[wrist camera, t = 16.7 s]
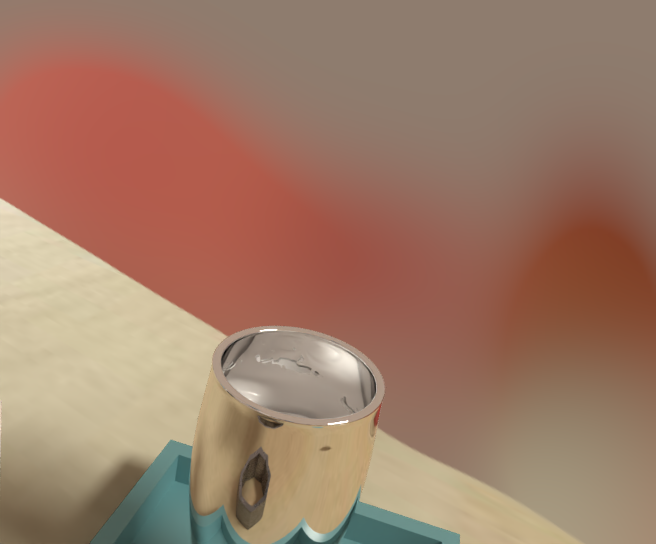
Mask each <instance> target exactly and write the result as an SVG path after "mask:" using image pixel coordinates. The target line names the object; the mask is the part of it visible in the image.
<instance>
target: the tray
mask: <svg viewBox="0 0 656 544" xmlns="http://www.w3.org/2000/svg"><path fill="white" fill-rule="evenodd" d="M191 454H192V446H189V445H186V444H183V443H179V442H176V441H173V440H170V441H169V443H168V444H167V445H166V446H165V448H164V449H163V450H162V452H161V453H160V454H159V455H158V457H157V458H156V459H155V461H154V462H153V463H152V464H151V466H150V467H149V468H148V469H147V471H146V472H145V473H144V475H143V476H142V477H141V478H140V480H139V481H138V482H137V483H136V485H135V486H134V487H133V489H132V490H131V491H130V492H129V494H128V495H127V496H126V498H125V499H124V500H123V501H122V503H121V504H120V505H119V506H118V508H117V509H116V510H115V512H114V513H113V514H112V515H111V517H110V518H109V519H108V520H107V522H106V523H105V524H104V526H103V527H102V528H101V529H100V531H99V532H98V533H97V535H96V536H95V537H94V538H93V540H92V541H91V542H90V543H89V544H191V538H190V522H189V471H190V463H191ZM341 544H460V534H457V533H454V532H451V531H448V530H445V529H442V528H439V527H435V526H432V525H429V524H426V523H423V522H420V521H417V520H414V519H411V518H408V517H405V516H402V515H399V514H396V513H393V512H390V511H387V510H384V509H381V508H378V507H375V506H371V505H368V504H365V503H362V502H358V505H357V508H356V511H355V514H354V516H353V518H352V521H351V523H350V525H349V527H348V529H347V531H346V533H345V535H344V538H343V540H342V542H341Z"/></svg>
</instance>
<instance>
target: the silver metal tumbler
mask: <svg viewBox="0 0 656 544" xmlns="http://www.w3.org/2000/svg"><path fill="white" fill-rule="evenodd" d="M384 396H385V384H384V380H383V377H382V375H381V373H380V371H379V370H378V368H377V367H376V366H375V365H374V363H373V362H372V361H371V360H370V359H369V358H368V357H366V356H365V355H364V354H363V353H361V352H360V351H359V350H357V349H356V348H354V347H352V346H351V345H349V344H347V343H345V342H343V341H341V340H338V339H336V338H334V337H332V336H329V335H326V334H323V333H320V332H316V331H312V330H308V329H302V328H296V327H288V326H262V327H255V328H250V329H246V330H243V331H239V332H237V333H235V334H233V335H231V336H229V337H227V338H226V339H224V340H223V341H222V342H221V343H220V344H219V345H218V346H217V348H216V349H215V351H214V354H213V357H212V365H211V370H210V374H209V378H208V381H207V385H206V389H205V392H204V396H203V400H202V404H201V408H200V412H199V416H198V420H197V425H196V431H195V436H194V441H193V446H192V454H191V463H190V471H189V522H190V538H191V544H341V542H342V540H343V538H344V535H345V533H346V531H347V529H348V527H349V525H350V523H351V521H352V518H353V516H354V514H355V511H356V508H357V505H358V502H359V499H360V496H361V493H362V490H363V488H364V484H365V480H366V477H367V473H368V469H369V465H370V461H371V457H372V452H373V447H374V442H375V437H376V432H377V426H378V420H379V415H380V410H381V405H382V401H383V399H384Z"/></svg>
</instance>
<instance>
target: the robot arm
mask: <svg viewBox="0 0 656 544" xmlns="http://www.w3.org/2000/svg"><path fill="white" fill-rule="evenodd" d="M0 455H1V400H0Z"/></svg>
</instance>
